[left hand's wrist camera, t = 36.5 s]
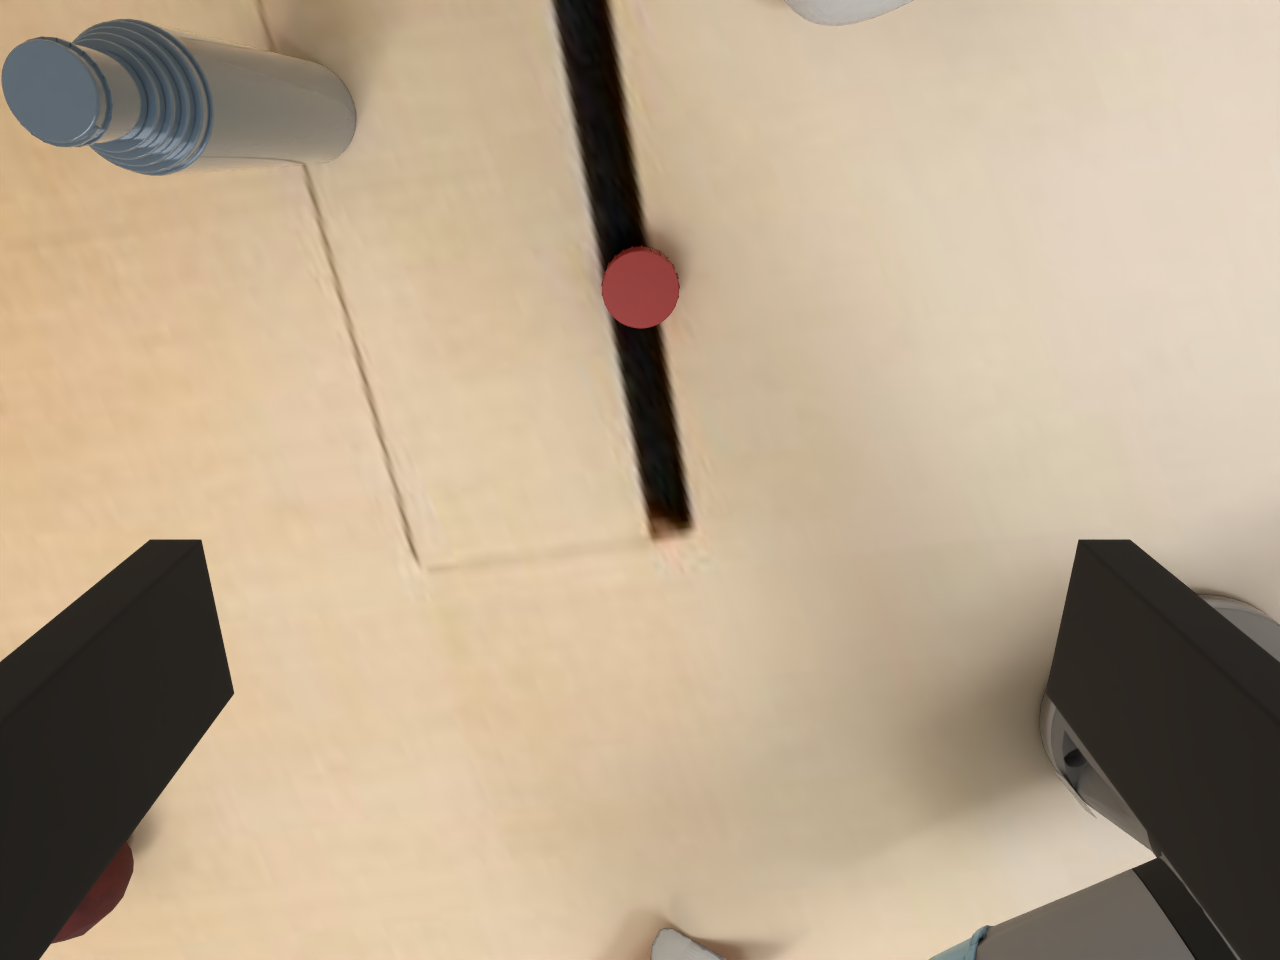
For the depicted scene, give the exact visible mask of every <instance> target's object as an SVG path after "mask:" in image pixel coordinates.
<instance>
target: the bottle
mask: <svg viewBox="0 0 1280 960" xmlns="http://www.w3.org/2000/svg"><path fill="white" fill-rule="evenodd" d="M2 88H3V92H4V96H5V99H6V101H7V104H8V106H9V108H10V109H11V111H12V113H13V114H14V116H15V117H16V118H17V119H18V121H19V122H20V124H21V125H22V126H24V127H25V128H26V129H27V130H28V131H29V132H30V133H31V134H32V135H34V136H35V137H37V138H39V139H40V140H42V141H43V142H45V143H48V144H52V145H55V146H59V147H84V146H88V145H89V146H90V147H91V148H92V149H93V150H94V151H96V152H97V153H98V154H99V155H100V156H102V157H103V158H105V159H106V160H108V161H109V162H111V163H113V164H115V165H117V166H119V167H122V168H124V169H127V170H130V171H133V172H136V173H140V174H144V175H152V176H162V175H175V174H188V173H201V172H215V171H228V170H241V169H255V168H268V167H281V166H294V165H308V164H319V163H325V162H328V161H331V160H333V159H335V158H336V157H338V156H339V155H340V154H342V153H343V152H344V151H345V149H346V148H347V147H348V145H349V144H350V142H351V140H352V137H353V134H354V131H355V124H356V115H355V108H354V104H353V101H352V98H351V95H350V93H349V91H348V89H347V88H346V86H345V85H344V83H343V82H342V81H341V80H340V78H339V77H338V76H337V75H336V74H335V73H333V72H332V71H331V70H329V69H328V68H326V67H324V66H323V65H321V64H318V63H316V62H312V61H308V60H304V59H300V58H296V57H291V56H287V55H283V54H279V53H275V52H270V51H266V50H262V49H258V48H254V47H249V46H245V45H241V44H237V43H233V42H228V41H224V40H220V39H216V38H212V37H207V36H203V35H199V34H195V33H191V32H186V31H182V30H178V29H174V28H170V27H165V26H161V25H157V24H153V23H149V22H144V21H140V20H133V19H117V20H111V21H108V22H102V23H99V24H96V25H94V26H92V27H90V28H88V29H86V30H85V31H84V32H83V33H81V34H80V35H79V36H78V37H77V38H76V39H75V40H74V41H73V42H72V43H71V42H68V41H65V40H63V39H60V38H54V37H38V38H34V39H30V40H27V41H26V42H24V43H22V44H20V45H18V46H17V47H16V48H14V49H13V50H12V51H11V52H10V54H9V55H8V57H7V58H6V60H5V63H4V66H3V70H2Z"/></svg>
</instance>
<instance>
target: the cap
mask: <svg viewBox="0 0 1280 960" xmlns="http://www.w3.org/2000/svg"><path fill="white" fill-rule="evenodd" d="M603 276H604V280H603V281H602V285H601V286H602V296H603V299H604V302H605V305H606V307H607V309H608V311H609V312H610V314H611V315H612V316H613V317H614V318H615V319H616V320H618V321H619V322H621V323H622V324H624V325H626V326H629V327H633V328H648V327H652V326H655V325H657V324H659V323H661V322H662V321H664V320H665V319H666V318H667V317H668V316H669V315H670V314H671V312H672V311H673V309H674V308H675V306H676V303H677V300H678V298H679V288H680V286H679V282H678V279H679V278H678V274H677V273H676V272H675V267H674V265H673V264H671V262H670V261H669V258H668V257H666V256H664V255H663V254H662V253H661V251H660V250H659V251H657V250H655V249H652V247H650V248H649V247H643V245H641V247H633V246H631V248H629V249H626V250H624V249H623V250H622V252H621V253H619V254H618V255H617V256H616V255H615V256H614V259H613V260H612V261H611V262H609V263H608V267H607V270H606V271H605V272H604V275H603Z"/></svg>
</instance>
